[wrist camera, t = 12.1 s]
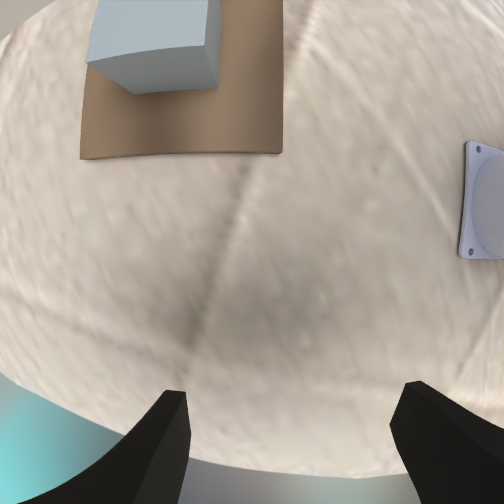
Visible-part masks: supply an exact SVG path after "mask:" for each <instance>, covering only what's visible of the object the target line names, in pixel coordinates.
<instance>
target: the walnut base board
mask: <svg viewBox="0 0 504 504" xmlns="http://www.w3.org/2000/svg"><path fill="white" fill-rule="evenodd" d="M220 5H221V11H222V17H223V19H222V33H221V49H220V66H219V86H218V89H193V90H176V91H164V92H153V93H144V94H135V95H134V94H133V93H131V92H130V91H128V90H127V89H125V88H124V87H122V86H121V85H119V84H118V83H116V82H115V81H113V80H112V79H110V78H109V77H107V76H106V75H104V74H103V73H101V72H100V71H98V70H96V69H95V68H93V67H92V66H90V65H89V64H88V67H87V74H86V81H85V90H84V99H83V109H82V122H81V140H80V159H81V160H94V159H104V158H114V157H126V156H139V155H156V154H177V153H270V154H280V153H282V148H283V0H220Z"/></svg>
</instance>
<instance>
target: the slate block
mask: <svg viewBox="0 0 504 504" xmlns="http://www.w3.org/2000/svg"><path fill="white" fill-rule="evenodd" d="M222 19H223V17H222V11H221V5H220V0H99V3H98V7H97V11H96V15H95V19H94V23H93V27H92V32H91V36H90V41H89V46H88V52H87V57H86V63H87V64H89V65H90V66H92V67H93V68H95V69H96V70H98V71H100V72H101V73H103V74H104V75H106V76H107V77H109V78H110V79H112V80H113V81H115V82H116V83H118V84H119V85H121V86H122V87H124V88H125V89H127V90H128V91H130V92H131V93H133V94H134V95H135V94H144V93H153V92H164V91H176V90H193V89H218V86H219V66H220V49H221V33H222Z"/></svg>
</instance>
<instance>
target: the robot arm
mask: <svg viewBox="0 0 504 504" xmlns="http://www.w3.org/2000/svg"><path fill="white" fill-rule="evenodd" d="M476 147H477V149H478V152H477V150H476ZM469 250H470V253H469ZM459 256H460V257H461V258H464V259H504V151H502V150H500V149H497V148H494V147H491V146H488V145H485V144H482V143H479V142H476V141H468V142H467V144H466V179H465V197H464V210H463V220H462V229H461V237H460V244H459ZM389 425H390V428H391V432H392V435H393V438H394V442H395V445H396V448H397V450H398V452H399V454H400V456H401V459H402V461H403V463H404V465H405V467H406V469H407V471H408V473H409V476H410V478H411V480H412V482H413V484H414V486H415V488H416V491H417V493H418V496H419V498H420V501H421V504H504V429H503V428H501V427H498V426H496V425H494V424H492V423H490V422H488V421H486V420H484V419H482V418H481V417H479V416H477V415H475V414H474V413H472V412H470V411H468V410H467V409H465V408H464V407H462V406H460V405H459V404H457V403H456V402H454V401H452V400H451V399H449V398H448V397H446V396H445V395H443V394H441V393H440V392H438V391H437V390H435V389H434V388H432V387H430V386H429V385H427V384H425V383H423V382H422V381H415V382H410V383H406V384H405V387H404V389H403V392H402V395H401V397H400V400H399V402H398V405H397V407H396V410H395V412H394V415H393V417H392V419H391V422H390V424H389ZM190 441H191V429H190V422H189V415H188V407H187V400H186V392H183V391H173V390H166V391H164V392H163V393H162V394H161V396H160V397H159V398H158V400H157V401H156V402H155V403H154V404H153V406H152V407H151V408H150V409H149V410H148V412H147V413H146V414H145V415H144V416H143V417H142V419H141V420H140V421H139V422H138V423H137V424H136V425H135V426H134V427H133V428H132V429H131V430H130V431H129V432H128V433H127V434H126V435H125V436H124V438H122V439H121V440H120V441H119V442H118V443H117V444H116V445H115V446H114V447H113V448H112V449H111V450H109V452H107V453H106V454H105V455H104V456H103V457H101V458H100V459H99V460H98V461H96V462H95V463H94V464H92V465H91V466H90V467H88V468H87V469H85V470H84V471H83V472H81V473H80V474H78V475H77V476H75V477H73V478H72V479H70V480H68V481H67V482H65V483H63V484H62V485H60V486H58V487H56V488H54V489H52V490H50V491H48V492H45V493H43V494H41V495H39V496H36V497H34V498H32V499H29V500H27V501H24V502H21V503H18V504H177V503H178V499H179V495H180V491H181V487H182V483H183V479H184V475H185V471H186V467H187V463H188V458H189V450H190Z"/></svg>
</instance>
